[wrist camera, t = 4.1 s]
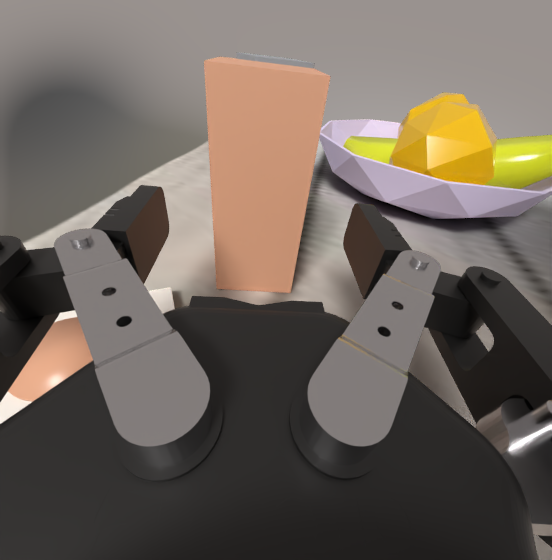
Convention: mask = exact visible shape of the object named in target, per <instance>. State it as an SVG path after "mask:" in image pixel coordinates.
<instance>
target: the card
mask: <svg viewBox="0 0 552 560" xmlns="http://www.w3.org/2000/svg"><path fill="white" fill-rule="evenodd" d="M148 292H149V293H150V295H151V297H152V298H153V300H154V301H155V303H156V304H157V306H158V307H159V309H160V310H161V312H162V314H163V313H165V312H168V311H170V310H173V309H175V307H174V301H173V295H172V290H171V287H169V288H163V289H157V290H151V291H148ZM92 360H93V358H92V355H91V353H90V350H89V347H88V344H87V342H86V339H85V336H84V333H83V331H82V328H81V325H80V323H79V320H78V317H77V314H76V312H75V310H74V311H68V312H63V313H60V314H59V316H58V317H57V319H56V320H55V322H54V323H53V325H52V326H51V328H50V329H49V331H48V332H47V334H46V335H45V337H44V338H43V340H42V341H41V343H40V344H39V346H38V347H37V349H36V350H35V351H34V353H33V354H32V356H31V357H30V359H29V360H28V362H27V363H26V365H25V366H24V368H23V369H22V371H21V372H20V374H19V375H18V377H17V378H16V380H15V381H14V383H13V384H12V386H11V387H10V389H9V390H8V392H7V393H6V395H5V396H4V398H3V399H2V401H1V402H0V424H1V423H2V422H4V421H5V420H7V419H8V418H10V417H11V416H12V415H14V414H15V413H17V412H18V411H20V410H21V409H23V408H24V407H26V406H27V405H28V404H30V403H31V402H33V401H34V400H36V399H37V398H39V397H40V396H42V395H43V394H44V393H46V392H47V391H49V390H50V389H52V388H53V387H55V386H56V385H58V384H59V383H60V382H62V381H63V380H65V379H66V378H68V377H69V376H71V375H72V374H73V373H75V372H76V371H78V370H79V369H81V368H82V367H84V366H85V365H87V364H88V363H89V362H91V361H92Z"/></svg>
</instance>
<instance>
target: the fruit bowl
mask: <svg viewBox="0 0 552 560" xmlns="http://www.w3.org/2000/svg"><path fill="white" fill-rule="evenodd" d="M319 138H320V141H321V144H322V146H323V149H324V151H325V154H326V156H327V159H328V162H329V164H330V167H331V169H332V172H333V173H335V174H336V175H337V176H339V177H340V178H342V179H343V180H344V181H346V182H347V183H348V184H350V185H351V186H353V187H354V188H355V189H357V190H358V191H359V192H361V193H362V194H364V195H367V196H369V197H372V198H375V199H378V200H381V201H384V202H386V203H389V204H392V205H395V206H398V207H401V208H403V209H406V210H409V211H412V212H415V213H418V214H420V215H423V216H426V217H429V218H432V219H446V218H479V217H510V216H519V215H520V214H522V213H523V212H525V211H527V210H528V209H530V208H531V207H533V206H534V205H536V204H538V203H539V202H541V201H542V200H544V199H546V198H547V197H549V196H550V195H552V135H543V136H530V137H529V136H528V137H516V138H506V139H497V137H496V136H495V134H494V132H493V131H492V129H491V127H490V125H489V123H488V122H487V120H486V119H485V116H484V115H483V113H482V111H481V110H480V108H479V106H478V105H475V104H469V103H468V102H467V100H466V98H465V96H464V95H463V94H455V93H446V92H443V93H441V94H439V95H437V96H436V97H434V98H432V99H430V100H428V101H426V102H424V103H422V104H420V105H419V106H417V107H415V108H413V109H411V110H410V112H409V113H408V114H407V116H406V117H405V119H404V120H403V121H402V123H396V122H387V121H378V120H371V119H366V120H336V121H335V120H333V121H329V122H328V123H327V124H326V125H324V127H322V128H321V130H320V136H319Z"/></svg>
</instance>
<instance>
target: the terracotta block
mask: <svg viewBox="0 0 552 560" xmlns="http://www.w3.org/2000/svg"><path fill="white" fill-rule="evenodd" d="M204 67H205V85H206V102H207V121H208V140H209V158H210V176H211V194H212V212H213V230H214V248H215V266H216V284H217V289H228V290H247V291H266V292H285V293H291V288H292V282H293V277H294V271H295V266H296V261H297V255H298V250H299V244H300V239H301V233H302V228H303V223H304V217H305V212H306V206H307V201H308V196H309V190H310V185H311V179H312V174H313V168H314V163H315V158H316V152H317V147H318V141H319V136H320V130H321V124H322V120H323V114H324V109H325V103H326V98H327V92H328V87H329V82H330V76H329V75H327V74H325V73H322V72H320V71H318V70H316V69H314V68H306V67H298V66H290V65H283V64H275V63H267V62H259V61H251V60H243V59H235V58H226V57H217V58H213V59H209V60H205V61H204Z"/></svg>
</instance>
